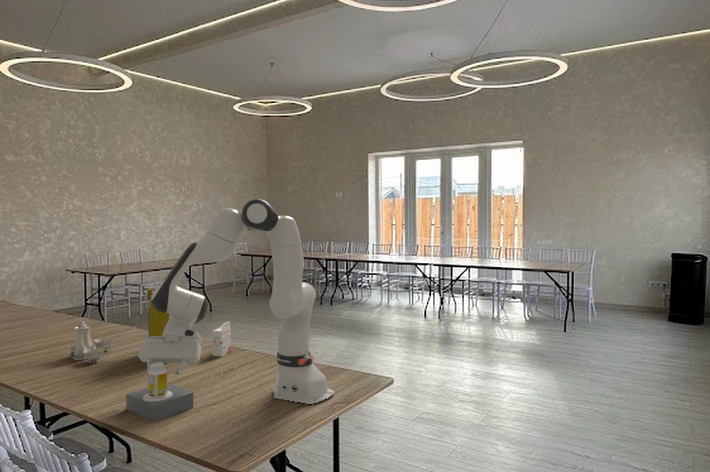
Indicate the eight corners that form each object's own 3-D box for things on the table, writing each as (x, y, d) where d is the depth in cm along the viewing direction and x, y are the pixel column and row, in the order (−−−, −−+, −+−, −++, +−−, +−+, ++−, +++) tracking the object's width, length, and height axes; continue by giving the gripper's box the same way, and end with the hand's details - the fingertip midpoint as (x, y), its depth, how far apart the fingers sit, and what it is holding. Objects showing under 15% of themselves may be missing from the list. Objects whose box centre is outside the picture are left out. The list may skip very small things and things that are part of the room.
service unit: (193, 407, 156) (193, 391, 156) (153, 422, 144) (153, 405, 144) (164, 395, 165) (164, 381, 165) (125, 408, 154) (125, 392, 154)
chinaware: (105, 368, 200) (110, 329, 200) (60, 368, 194) (65, 328, 194) (113, 350, 227) (117, 316, 227) (74, 350, 221) (77, 314, 221)
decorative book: (176, 361, 205) (176, 292, 204) (149, 364, 200) (148, 294, 199) (172, 349, 223) (172, 286, 222) (147, 352, 218) (146, 287, 217)
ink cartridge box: (221, 351, 221) (221, 320, 221) (231, 351, 220) (230, 320, 220) (212, 356, 213) (212, 324, 213) (222, 357, 212) (222, 324, 212)
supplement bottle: (169, 391, 155) (168, 361, 155) (164, 398, 149) (164, 366, 149) (151, 392, 154) (151, 361, 154) (146, 399, 149) (145, 367, 148)
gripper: (143, 331, 163) (129, 368, 154) (201, 332, 162) (190, 369, 153) (149, 340, 168) (136, 377, 158) (206, 341, 167) (196, 378, 157)
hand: (163, 373), depth 155 cm, fingers open, 8 cm apart
